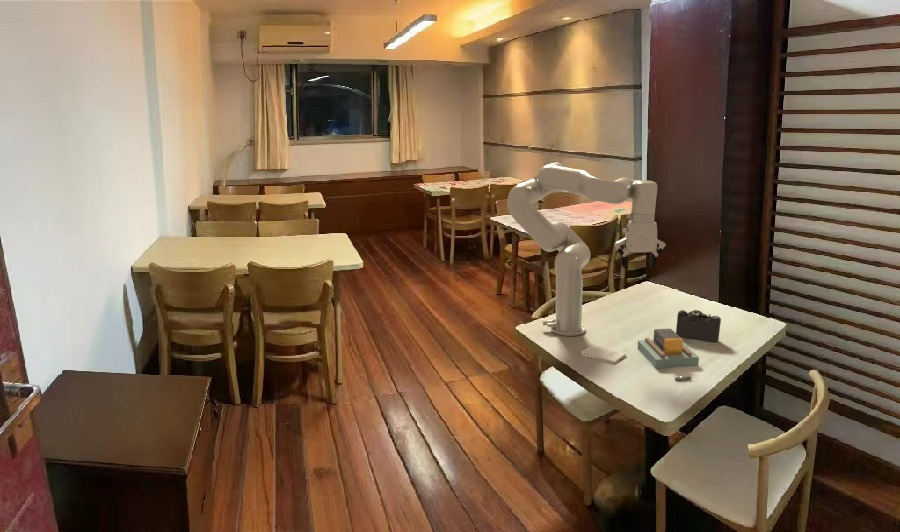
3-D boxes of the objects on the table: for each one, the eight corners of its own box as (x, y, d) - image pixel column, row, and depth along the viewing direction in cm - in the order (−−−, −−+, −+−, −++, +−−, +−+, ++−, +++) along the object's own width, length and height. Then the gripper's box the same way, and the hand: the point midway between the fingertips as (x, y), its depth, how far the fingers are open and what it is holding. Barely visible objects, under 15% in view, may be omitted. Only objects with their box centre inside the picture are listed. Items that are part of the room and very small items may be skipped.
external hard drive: (592, 348, 221) (626, 357, 213) (580, 356, 215) (614, 365, 207) (592, 344, 221) (626, 353, 213) (580, 351, 215) (614, 361, 207)
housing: (653, 343, 215) (654, 329, 214) (669, 342, 215) (670, 328, 214) (665, 355, 205) (666, 340, 204) (681, 354, 206) (683, 339, 204)
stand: (655, 368, 203) (656, 356, 202) (637, 348, 218) (638, 337, 217) (698, 365, 204) (699, 353, 203) (677, 346, 219) (678, 335, 218)
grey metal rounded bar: (675, 381, 194) (675, 378, 194) (673, 380, 195) (674, 376, 195) (692, 380, 194) (692, 377, 194) (690, 379, 196) (690, 375, 195)
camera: (720, 333, 230) (722, 307, 227) (718, 344, 221) (720, 317, 218) (678, 328, 236) (680, 302, 233) (674, 338, 227) (676, 312, 224)
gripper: (620, 220, 209) (616, 270, 214) (672, 220, 210) (666, 269, 215) (613, 215, 216) (609, 264, 221) (663, 215, 217) (658, 263, 222)
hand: (637, 266), depth 218 cm, fingers open, 9 cm apart
